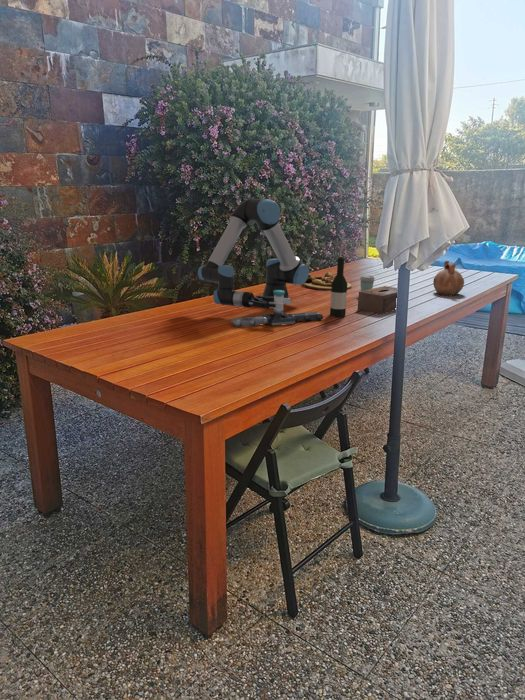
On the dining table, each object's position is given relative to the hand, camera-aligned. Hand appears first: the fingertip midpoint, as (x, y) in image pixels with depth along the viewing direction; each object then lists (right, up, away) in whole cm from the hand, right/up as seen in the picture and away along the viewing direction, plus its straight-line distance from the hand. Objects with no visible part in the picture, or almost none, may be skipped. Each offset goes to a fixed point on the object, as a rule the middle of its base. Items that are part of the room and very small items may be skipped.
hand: (286, 303), depth 266 cm
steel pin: (-4, -9, +4) cm, 10 cm away
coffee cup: (+50, +10, +69) cm, 86 cm away
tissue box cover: (+54, 0, +39) cm, 66 cm away
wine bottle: (+27, -4, +21) cm, 34 cm away
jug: (+103, +13, +83) cm, 133 cm away
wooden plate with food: (+30, +19, +99) cm, 105 cm away
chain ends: (-4, -9, +4) cm, 10 cm away
